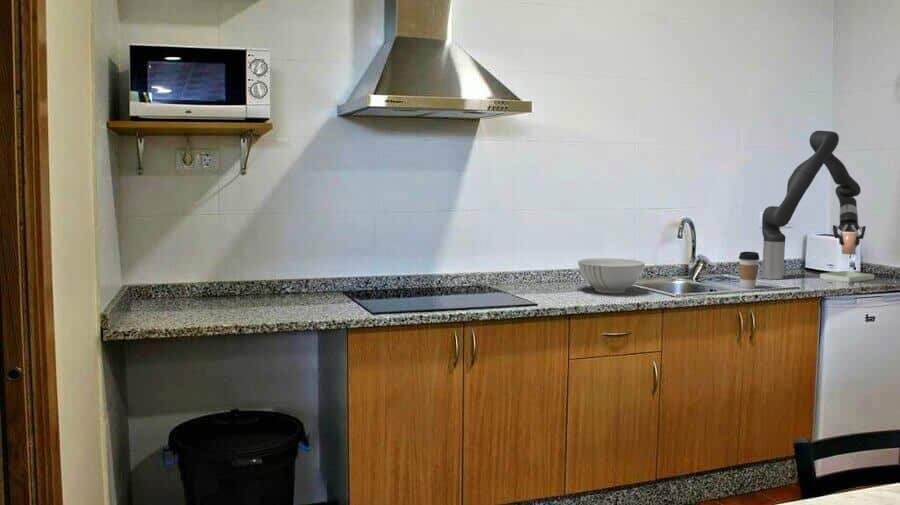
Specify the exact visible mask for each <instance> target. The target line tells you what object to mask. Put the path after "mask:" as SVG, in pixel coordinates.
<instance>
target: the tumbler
mask: <svg viewBox="0 0 900 505" xmlns="http://www.w3.org/2000/svg"><path fill="white" fill-rule="evenodd" d="M856 234H857V232H850V231H845V232H843V245H841V246H842V247H841V248H842V249H841V254H842V255H843V254H844V255H855V254H856V251H857V248H856V247H857V246H856Z"/></svg>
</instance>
